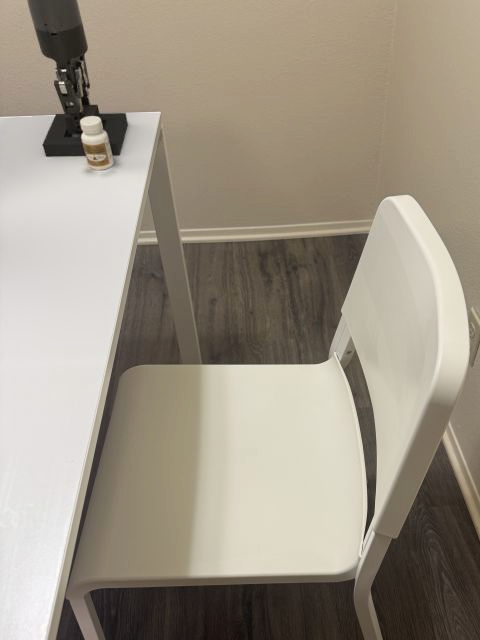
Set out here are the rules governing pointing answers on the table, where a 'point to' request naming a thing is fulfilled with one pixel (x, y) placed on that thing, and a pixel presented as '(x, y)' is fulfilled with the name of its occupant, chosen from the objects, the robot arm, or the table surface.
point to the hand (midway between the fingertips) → (84, 125)
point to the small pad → (88, 111)
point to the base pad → (66, 145)
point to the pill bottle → (96, 143)
